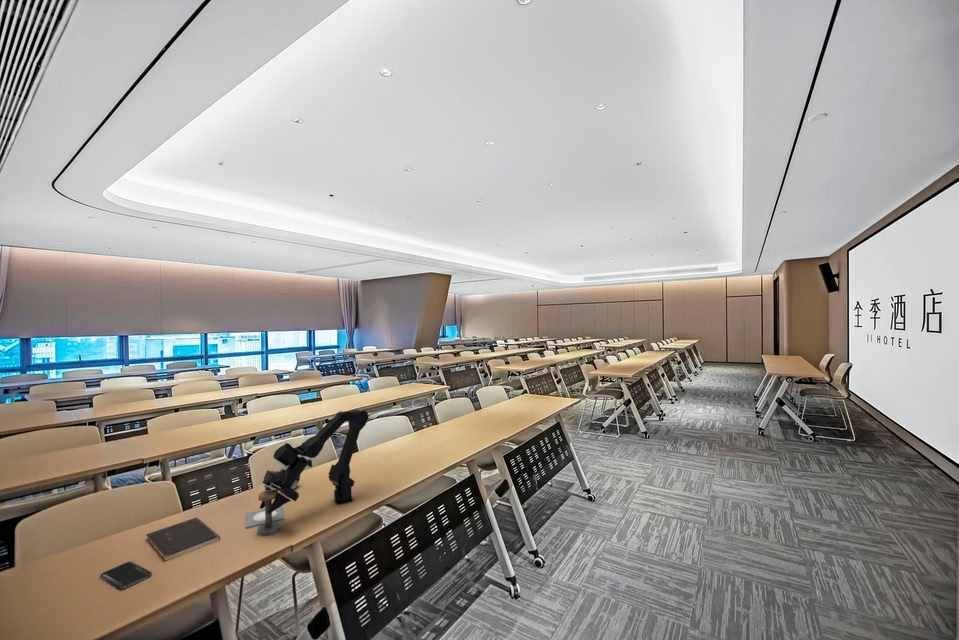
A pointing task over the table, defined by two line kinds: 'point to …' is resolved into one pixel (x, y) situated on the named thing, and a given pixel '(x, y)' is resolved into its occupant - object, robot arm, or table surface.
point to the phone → (126, 575)
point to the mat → (262, 517)
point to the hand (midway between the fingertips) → (264, 510)
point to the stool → (269, 526)
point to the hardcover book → (182, 538)
